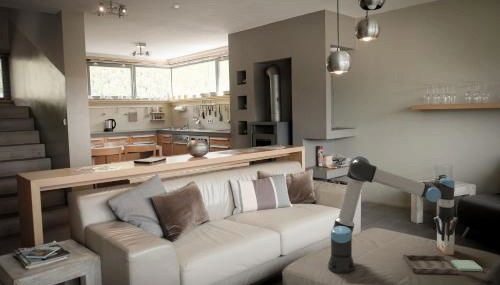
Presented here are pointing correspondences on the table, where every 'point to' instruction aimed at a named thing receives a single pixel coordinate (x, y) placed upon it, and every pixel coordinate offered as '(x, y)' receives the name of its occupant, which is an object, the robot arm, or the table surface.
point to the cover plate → (466, 265)
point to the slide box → (429, 264)
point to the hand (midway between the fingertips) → (444, 246)
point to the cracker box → (450, 243)
